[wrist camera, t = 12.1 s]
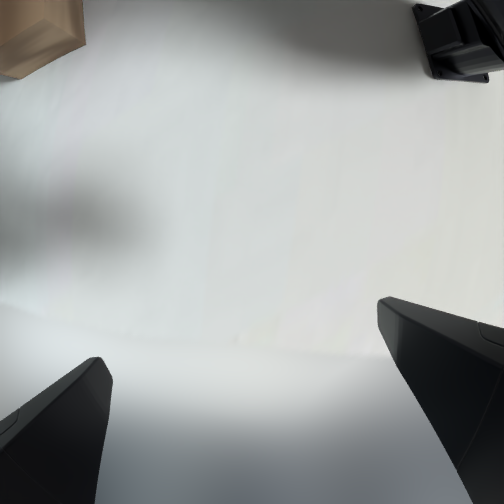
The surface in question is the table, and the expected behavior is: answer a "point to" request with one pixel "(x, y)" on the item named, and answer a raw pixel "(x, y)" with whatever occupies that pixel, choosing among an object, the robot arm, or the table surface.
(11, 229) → the table surface
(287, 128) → the table surface
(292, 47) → the table surface
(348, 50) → the table surface
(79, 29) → the walnut letter cube
